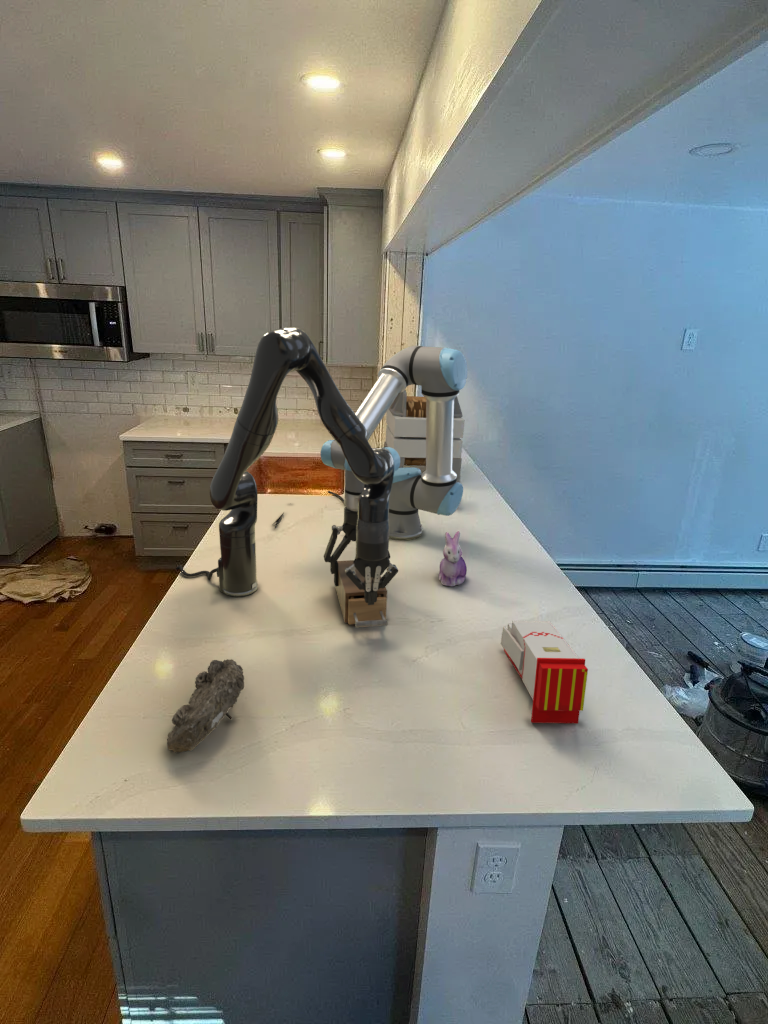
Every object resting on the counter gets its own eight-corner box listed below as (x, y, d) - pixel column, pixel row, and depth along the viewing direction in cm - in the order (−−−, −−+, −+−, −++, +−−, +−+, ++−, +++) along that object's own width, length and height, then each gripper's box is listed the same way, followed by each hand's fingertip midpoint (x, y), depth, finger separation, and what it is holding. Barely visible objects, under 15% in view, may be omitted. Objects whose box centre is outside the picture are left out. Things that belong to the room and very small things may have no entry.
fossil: (192, 660, 117) (244, 628, 112) (224, 691, 120) (276, 661, 115) (142, 746, 98) (202, 712, 93) (182, 779, 101) (242, 748, 96)
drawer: (390, 633, 137) (391, 610, 134) (352, 636, 135) (352, 613, 133) (372, 589, 158) (373, 568, 156) (339, 591, 156) (339, 569, 154)
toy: (547, 606, 135) (596, 665, 106) (541, 658, 138) (589, 729, 108) (496, 604, 134) (532, 664, 105) (492, 657, 137) (526, 729, 108)
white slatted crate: (382, 463, 289) (386, 382, 275) (445, 464, 293) (451, 384, 279) (390, 482, 257) (394, 392, 243) (460, 483, 261) (468, 394, 247)
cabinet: (385, 619, 144) (387, 590, 142) (344, 622, 142) (345, 593, 139) (372, 585, 162) (373, 559, 159) (335, 587, 160) (335, 560, 157)
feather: (291, 507, 225) (293, 503, 224) (273, 530, 198) (276, 526, 198) (287, 504, 224) (289, 500, 224) (269, 528, 198) (272, 523, 197)
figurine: (448, 590, 161) (452, 541, 156) (429, 575, 169) (432, 528, 164) (475, 584, 165) (480, 536, 160) (455, 570, 173) (459, 524, 168)
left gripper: (346, 543, 125) (345, 613, 131) (404, 541, 128) (400, 609, 133) (341, 531, 132) (340, 597, 138) (397, 529, 134) (394, 594, 140)
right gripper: (315, 513, 142) (315, 591, 150) (404, 510, 147) (400, 586, 155) (313, 503, 149) (313, 578, 157) (398, 501, 154) (394, 574, 162)
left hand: (370, 603), depth 135 cm, fingers closed
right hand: (356, 582), depth 156 cm, fingers closed on cabinet, 11 cm apart
